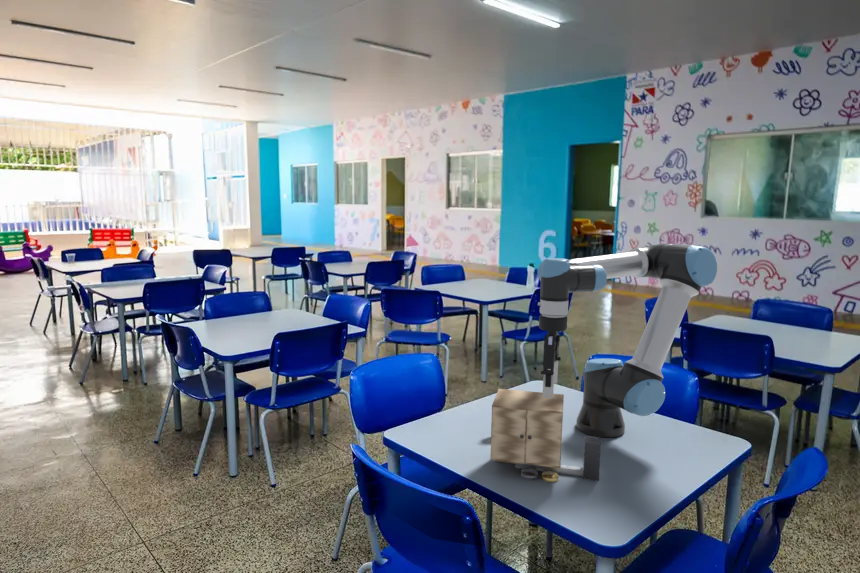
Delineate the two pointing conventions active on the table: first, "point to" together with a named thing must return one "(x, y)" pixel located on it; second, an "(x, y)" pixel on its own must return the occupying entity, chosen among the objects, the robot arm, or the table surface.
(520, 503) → the table surface
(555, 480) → the brass disc
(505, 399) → the cabinet
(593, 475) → the grey mallet
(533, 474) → the steel disc
